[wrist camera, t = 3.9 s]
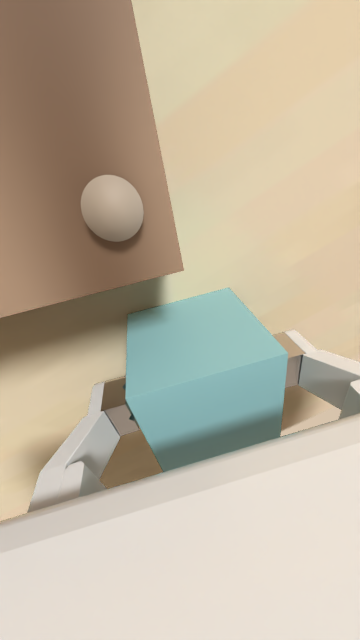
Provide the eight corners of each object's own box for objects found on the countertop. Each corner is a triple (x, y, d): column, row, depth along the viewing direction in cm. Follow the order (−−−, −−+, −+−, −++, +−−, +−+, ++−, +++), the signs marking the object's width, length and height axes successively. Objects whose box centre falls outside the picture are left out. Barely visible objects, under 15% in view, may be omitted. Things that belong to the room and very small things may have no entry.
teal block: (228, 287, 11) (288, 353, 7) (234, 360, 14) (279, 440, 10) (127, 313, 11) (125, 399, 7) (154, 383, 13) (164, 474, 9)
